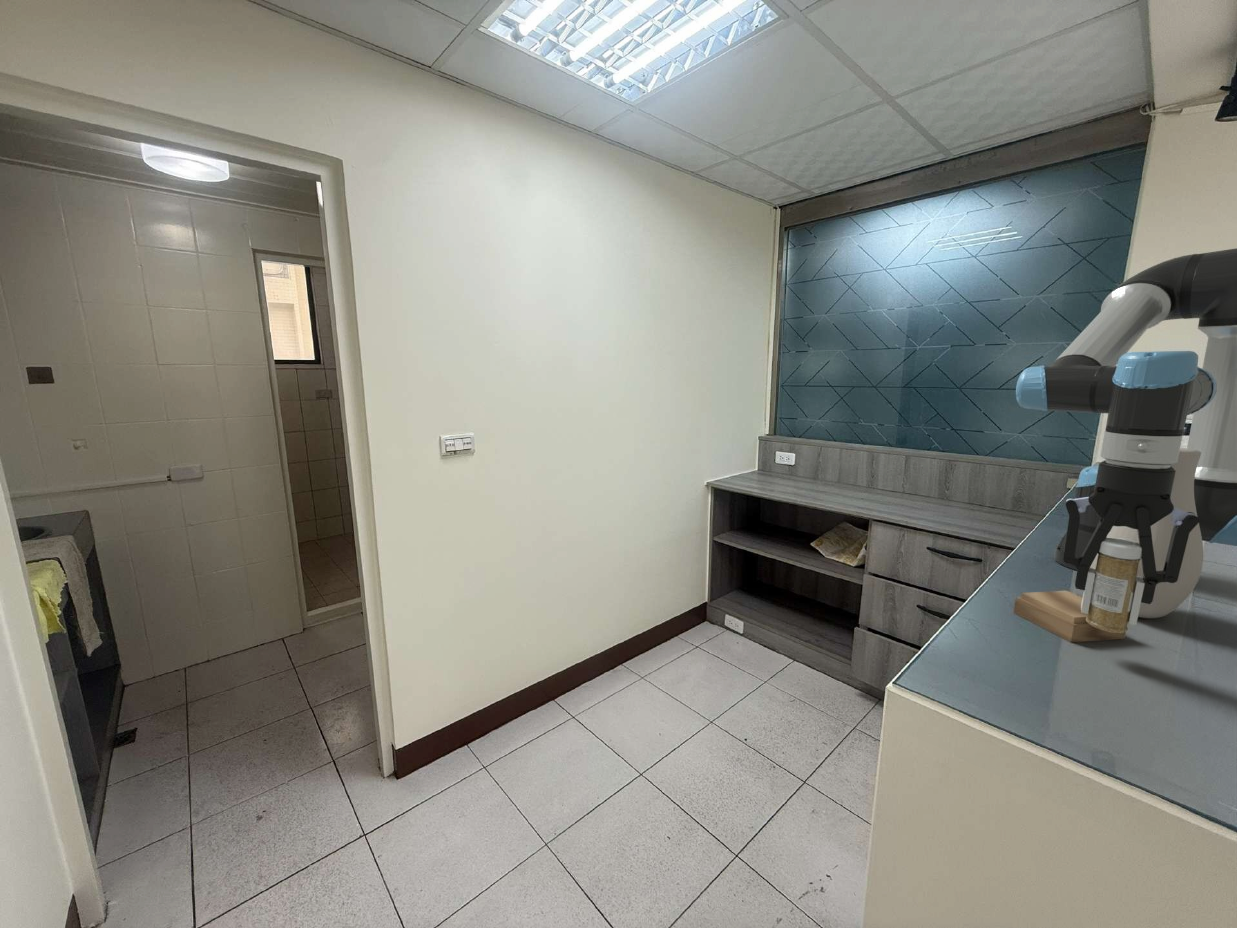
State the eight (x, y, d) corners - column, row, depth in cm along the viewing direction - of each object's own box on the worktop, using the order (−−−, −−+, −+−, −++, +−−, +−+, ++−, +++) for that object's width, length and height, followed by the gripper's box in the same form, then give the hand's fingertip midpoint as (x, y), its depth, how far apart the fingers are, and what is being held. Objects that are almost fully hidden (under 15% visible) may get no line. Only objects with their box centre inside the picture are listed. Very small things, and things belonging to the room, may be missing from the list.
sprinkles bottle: (1135, 631, 72) (1152, 545, 69) (1111, 636, 71) (1128, 548, 68) (1099, 616, 76) (1114, 534, 74) (1076, 620, 75) (1091, 537, 73)
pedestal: (1061, 609, 89) (1065, 589, 88) (1124, 638, 79) (1129, 615, 79) (1013, 612, 88) (1016, 591, 87) (1070, 642, 78) (1075, 619, 77)
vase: (1188, 613, 88) (1226, 449, 83) (1188, 639, 79) (1231, 457, 74) (1084, 588, 98) (1112, 440, 93) (1074, 609, 89) (1104, 447, 84)
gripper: (1053, 459, 72) (1030, 606, 76) (1241, 475, 60) (1200, 647, 65) (1055, 453, 77) (1033, 590, 82) (1227, 466, 66) (1191, 625, 70)
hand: (1107, 614), depth 73 cm, fingers closed on sprinkles bottle, 4 cm apart
